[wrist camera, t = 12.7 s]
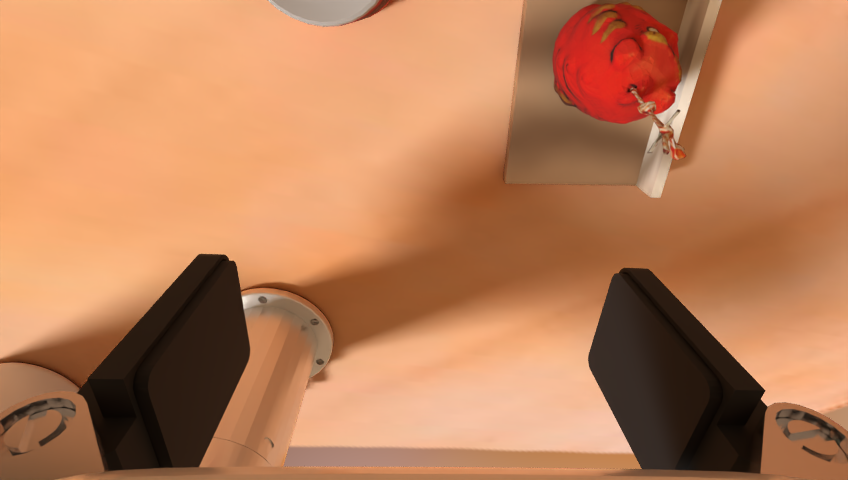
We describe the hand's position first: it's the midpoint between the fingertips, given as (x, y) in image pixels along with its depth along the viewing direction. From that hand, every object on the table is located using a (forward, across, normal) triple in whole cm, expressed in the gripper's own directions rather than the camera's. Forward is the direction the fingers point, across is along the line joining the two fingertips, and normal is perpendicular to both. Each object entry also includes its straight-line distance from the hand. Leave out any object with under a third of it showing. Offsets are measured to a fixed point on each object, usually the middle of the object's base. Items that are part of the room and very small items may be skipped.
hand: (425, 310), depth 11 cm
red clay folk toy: (+25, -13, -5) cm, 29 cm away
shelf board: (+26, -14, -5) cm, 30 cm away
